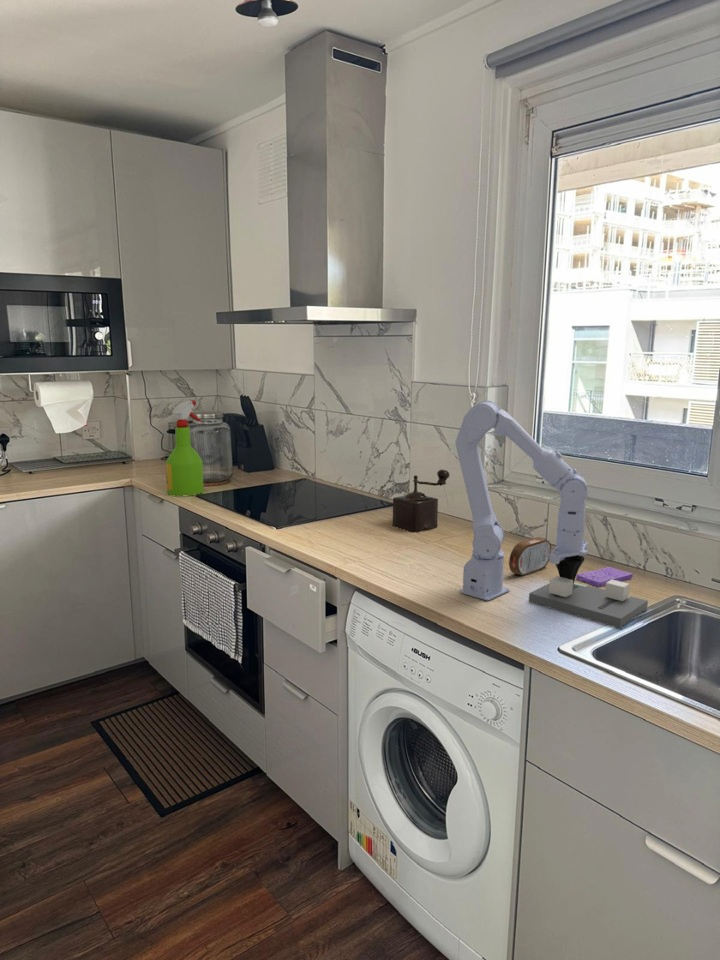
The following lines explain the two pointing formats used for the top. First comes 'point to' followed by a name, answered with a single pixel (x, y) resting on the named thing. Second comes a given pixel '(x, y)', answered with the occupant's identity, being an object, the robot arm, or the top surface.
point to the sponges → (603, 576)
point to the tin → (530, 556)
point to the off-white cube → (561, 586)
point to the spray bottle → (184, 457)
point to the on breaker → (617, 590)
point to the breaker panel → (591, 604)
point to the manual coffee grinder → (417, 507)
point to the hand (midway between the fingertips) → (566, 587)
